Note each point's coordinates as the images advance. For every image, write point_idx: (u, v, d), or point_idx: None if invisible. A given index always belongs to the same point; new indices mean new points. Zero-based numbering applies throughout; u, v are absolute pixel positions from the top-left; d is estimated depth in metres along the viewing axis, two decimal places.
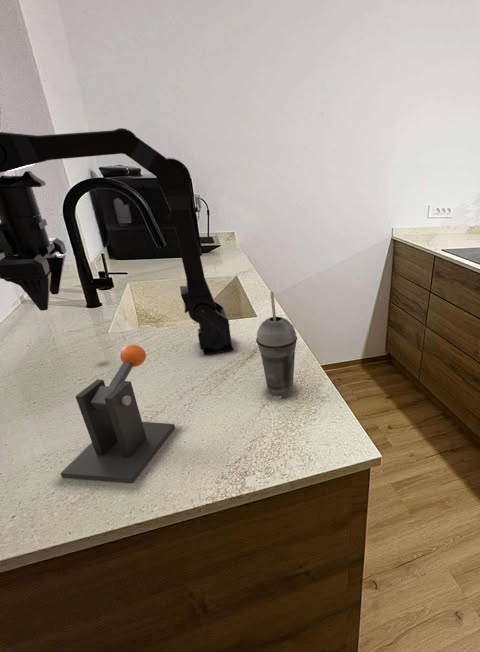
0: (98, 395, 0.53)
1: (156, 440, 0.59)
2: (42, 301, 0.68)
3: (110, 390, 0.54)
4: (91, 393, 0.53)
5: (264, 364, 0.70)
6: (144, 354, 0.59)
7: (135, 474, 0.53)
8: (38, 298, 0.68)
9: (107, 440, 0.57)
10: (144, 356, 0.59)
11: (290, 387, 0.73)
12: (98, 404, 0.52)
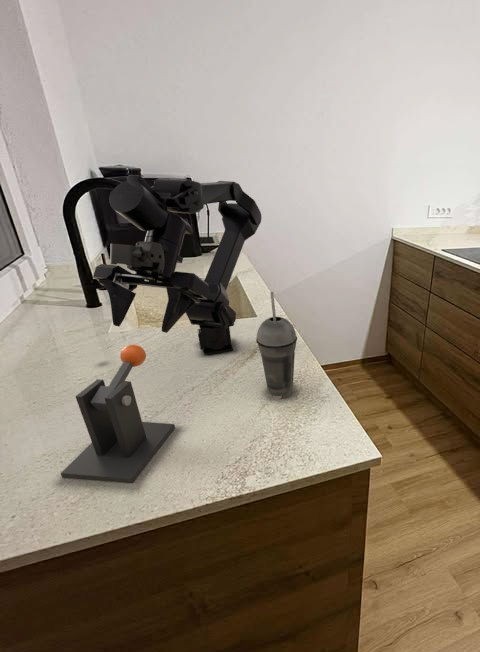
0: (98, 395, 0.53)
1: (156, 440, 0.59)
2: (170, 322, 0.65)
3: (110, 390, 0.54)
4: (91, 393, 0.53)
5: (264, 364, 0.70)
6: (144, 354, 0.59)
7: (135, 474, 0.53)
8: (171, 318, 0.65)
9: (107, 440, 0.57)
10: (144, 356, 0.59)
11: (290, 387, 0.73)
12: (98, 404, 0.52)
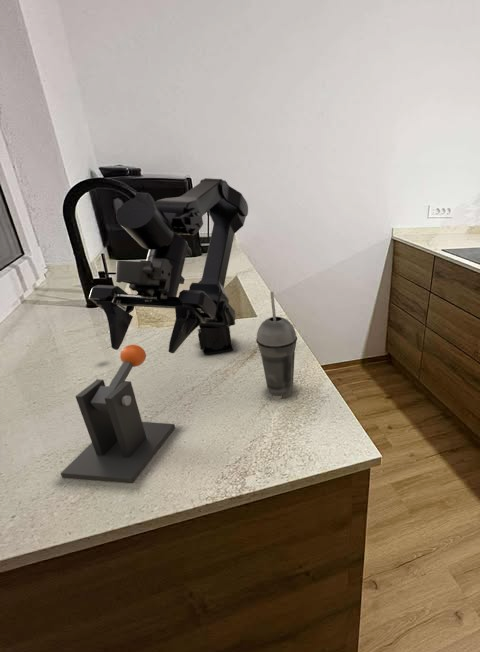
0: (98, 395, 0.53)
1: (156, 440, 0.59)
2: (177, 342, 0.62)
3: (110, 390, 0.54)
4: (91, 393, 0.53)
5: (264, 364, 0.70)
6: (144, 354, 0.59)
7: (135, 474, 0.53)
8: (178, 338, 0.62)
9: (107, 440, 0.57)
10: (144, 356, 0.59)
11: (290, 387, 0.73)
12: (98, 404, 0.52)
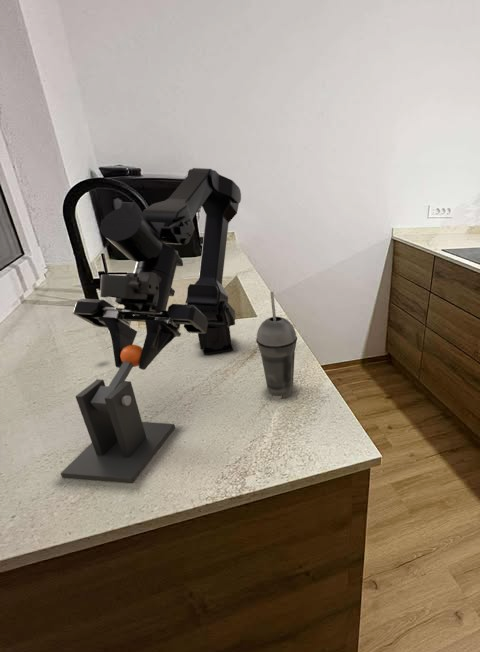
0: (98, 395, 0.53)
1: (156, 440, 0.59)
2: (149, 358, 0.59)
3: (110, 390, 0.54)
4: (91, 393, 0.53)
5: (264, 364, 0.70)
6: None
7: (135, 474, 0.53)
8: (149, 354, 0.59)
9: (107, 440, 0.57)
10: None
11: (290, 387, 0.73)
12: (98, 404, 0.52)
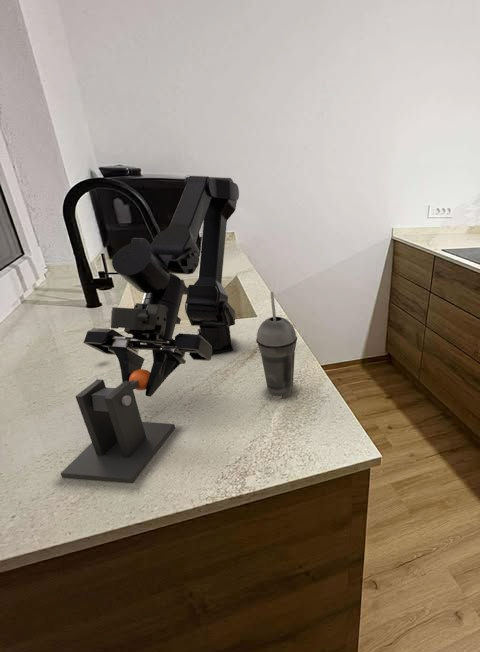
0: (101, 391, 0.53)
1: (156, 440, 0.59)
2: (155, 385, 0.62)
3: None
4: (91, 393, 0.53)
5: (264, 364, 0.70)
6: None
7: (135, 474, 0.53)
8: (155, 381, 0.61)
9: (107, 440, 0.57)
10: None
11: (290, 387, 0.73)
12: (99, 397, 0.52)
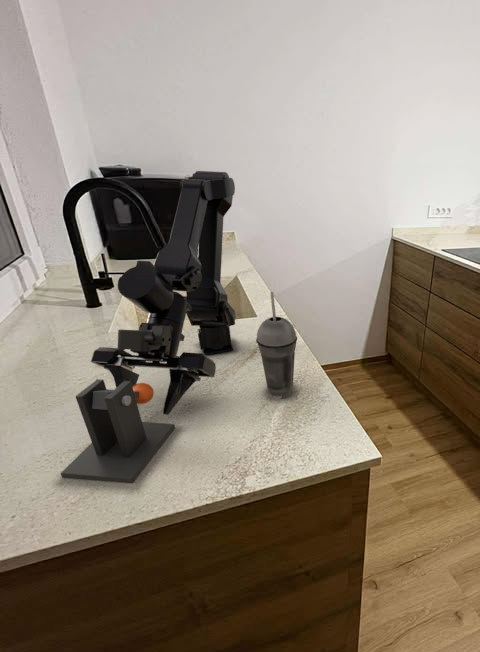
0: (103, 390, 0.54)
1: (156, 440, 0.59)
2: (172, 403, 0.64)
3: None
4: (91, 393, 0.53)
5: (264, 364, 0.70)
6: (152, 393, 0.62)
7: (135, 474, 0.53)
8: (173, 400, 0.63)
9: (107, 440, 0.57)
10: (152, 394, 0.62)
11: (290, 387, 0.73)
12: (100, 394, 0.53)
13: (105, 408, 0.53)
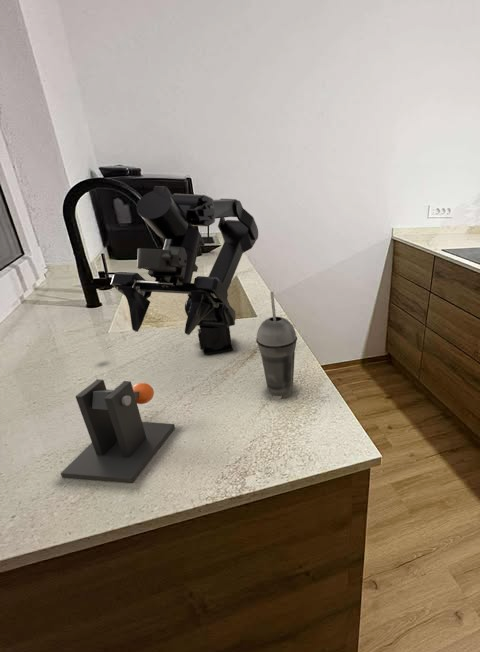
0: (103, 390, 0.54)
1: (156, 440, 0.59)
2: (192, 325, 0.67)
3: None
4: (91, 393, 0.53)
5: (264, 364, 0.70)
6: (152, 393, 0.62)
7: (135, 474, 0.53)
8: (193, 321, 0.67)
9: (107, 440, 0.57)
10: (152, 394, 0.62)
11: (290, 387, 0.73)
12: (100, 394, 0.53)
13: (105, 408, 0.53)
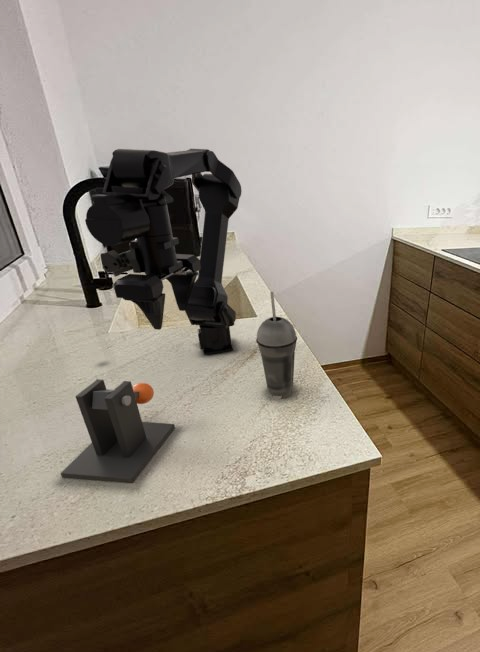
0: (103, 390, 0.54)
1: (156, 440, 0.59)
2: (155, 321, 0.67)
3: None
4: (91, 393, 0.53)
5: (264, 364, 0.70)
6: (152, 393, 0.62)
7: (135, 474, 0.53)
8: (152, 318, 0.66)
9: (107, 440, 0.57)
10: (152, 394, 0.62)
11: (290, 387, 0.73)
12: (100, 394, 0.53)
13: (105, 408, 0.53)
